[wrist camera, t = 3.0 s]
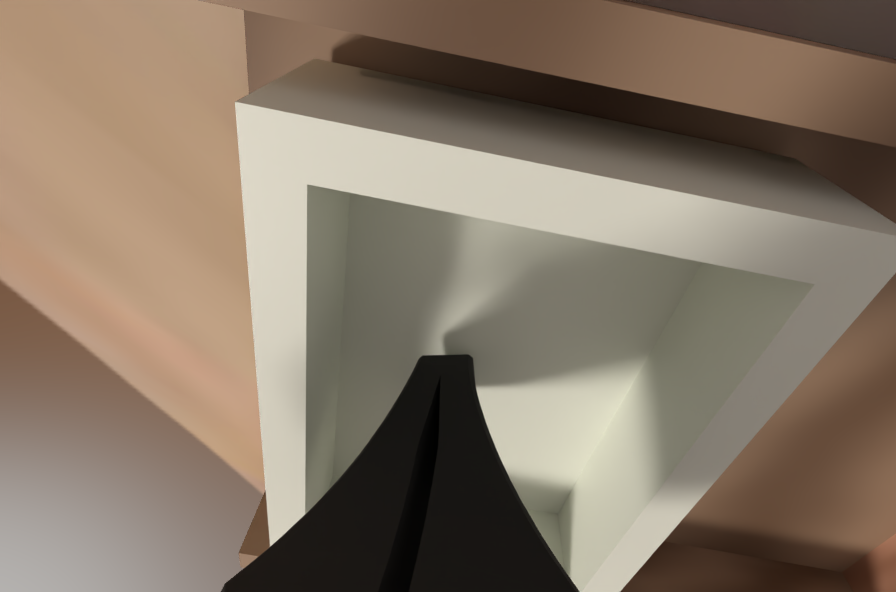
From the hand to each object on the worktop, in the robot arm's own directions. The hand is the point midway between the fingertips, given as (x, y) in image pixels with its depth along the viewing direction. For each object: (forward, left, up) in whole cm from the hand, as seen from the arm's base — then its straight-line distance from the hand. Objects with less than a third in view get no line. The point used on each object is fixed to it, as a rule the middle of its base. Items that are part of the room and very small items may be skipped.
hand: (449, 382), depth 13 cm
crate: (-1, 0, -1) cm, 2 cm away
